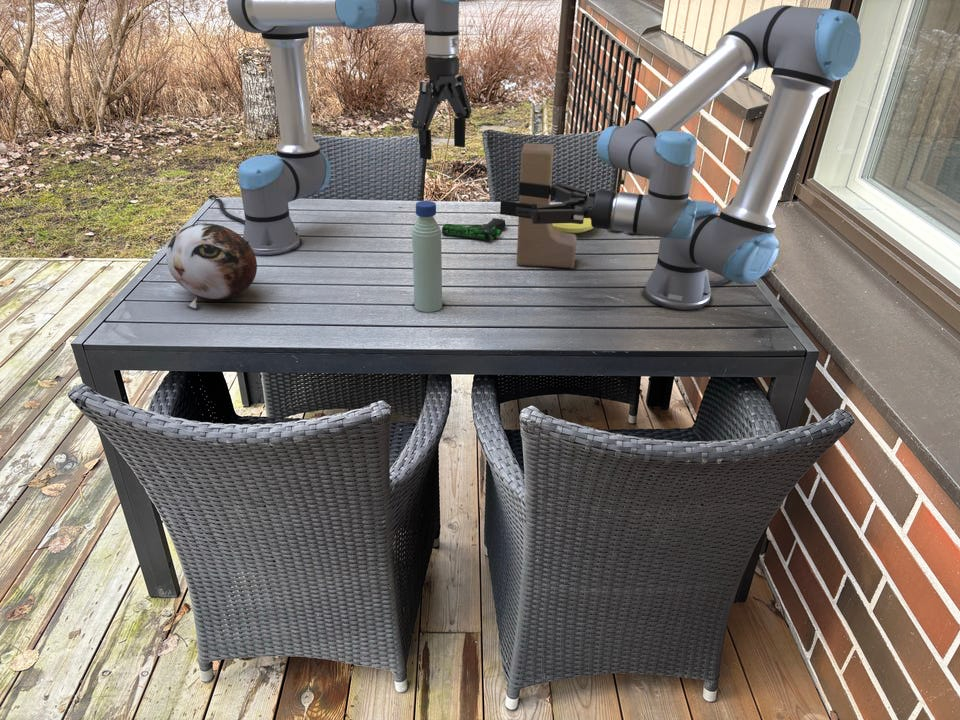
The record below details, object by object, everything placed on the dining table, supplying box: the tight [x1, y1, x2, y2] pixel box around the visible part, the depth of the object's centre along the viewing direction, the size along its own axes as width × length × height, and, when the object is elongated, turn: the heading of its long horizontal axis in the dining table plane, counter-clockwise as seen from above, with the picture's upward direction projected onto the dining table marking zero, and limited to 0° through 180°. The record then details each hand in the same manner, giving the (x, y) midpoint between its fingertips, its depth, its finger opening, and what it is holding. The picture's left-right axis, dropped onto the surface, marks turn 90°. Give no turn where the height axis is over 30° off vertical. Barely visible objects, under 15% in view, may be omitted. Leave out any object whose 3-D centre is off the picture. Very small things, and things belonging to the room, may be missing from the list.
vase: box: [552, 218, 595, 234], centre depth 209 cm, size 16×16×7 cm
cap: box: [415, 200, 437, 217], centre depth 154 cm, size 4×4×2 cm
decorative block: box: [516, 142, 577, 269], centre depth 181 cm, size 8×15×30 cm, turn 82°
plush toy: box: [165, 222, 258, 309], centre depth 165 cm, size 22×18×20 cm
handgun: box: [441, 217, 506, 242], centre depth 207 cm, size 16×3×15 cm
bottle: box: [411, 216, 443, 313], centre depth 160 cm, size 6×6×24 cm
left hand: (443, 152), depth 168 cm, fingers open, 13 cm apart
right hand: (510, 197), depth 146 cm, fingers open, 13 cm apart
